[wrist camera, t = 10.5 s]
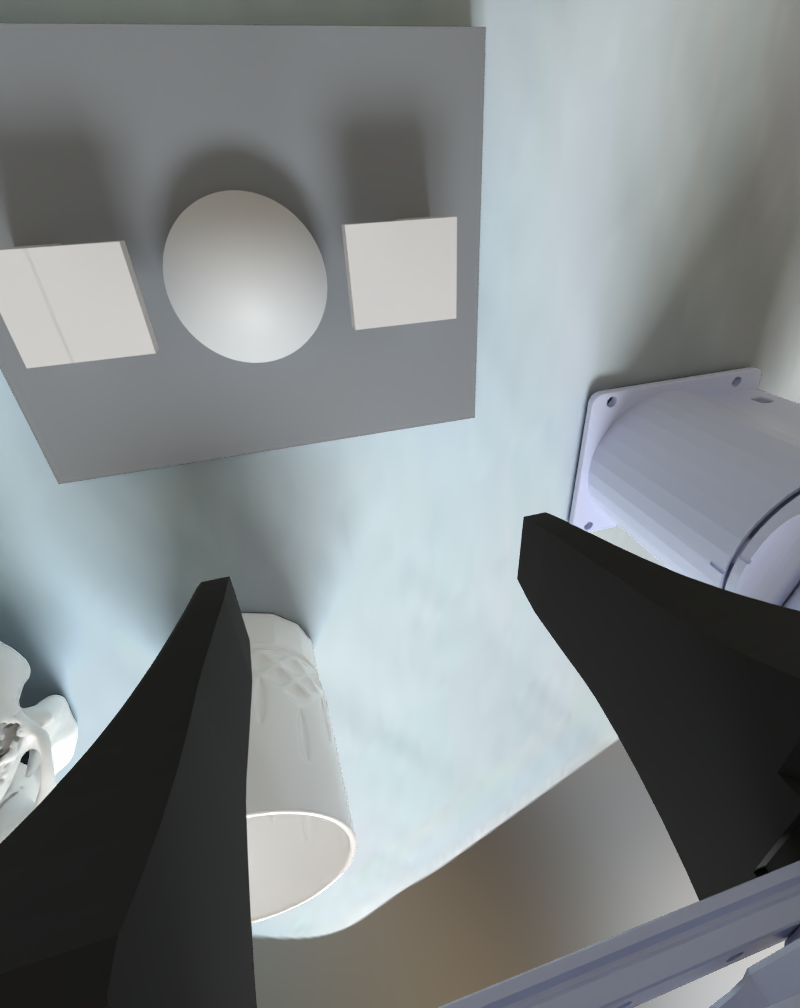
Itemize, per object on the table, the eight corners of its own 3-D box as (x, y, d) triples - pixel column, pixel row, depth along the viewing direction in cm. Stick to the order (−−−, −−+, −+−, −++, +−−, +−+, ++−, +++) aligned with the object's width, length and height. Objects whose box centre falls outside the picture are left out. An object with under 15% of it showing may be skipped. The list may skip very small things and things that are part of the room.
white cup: (247, 726, 28) (245, 943, 19) (129, 668, 23) (62, 916, 15) (352, 650, 27) (397, 844, 18) (250, 574, 22) (249, 784, 14)
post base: (472, 37, 15) (527, -7, 12) (465, 409, 21) (500, 440, 18) (-145, 35, 12) (-277, -25, 9) (67, 471, 18) (32, 521, 15)
